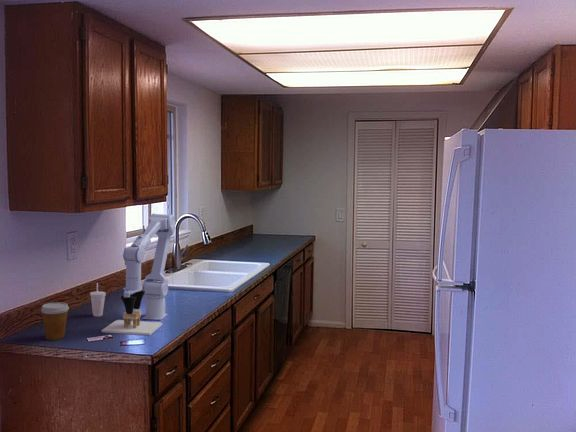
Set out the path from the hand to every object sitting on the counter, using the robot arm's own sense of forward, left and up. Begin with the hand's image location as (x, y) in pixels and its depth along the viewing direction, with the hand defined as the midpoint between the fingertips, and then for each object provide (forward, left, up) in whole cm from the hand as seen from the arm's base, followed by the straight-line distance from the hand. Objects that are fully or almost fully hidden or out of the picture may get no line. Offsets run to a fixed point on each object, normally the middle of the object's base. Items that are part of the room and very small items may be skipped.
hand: (133, 311), depth 219 cm
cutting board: (0, 0, -7) cm, 7 cm away
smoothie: (-15, -21, -7) cm, 27 cm away
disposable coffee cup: (+17, -23, -7) cm, 29 cm away
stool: (0, 0, -6) cm, 6 cm away
